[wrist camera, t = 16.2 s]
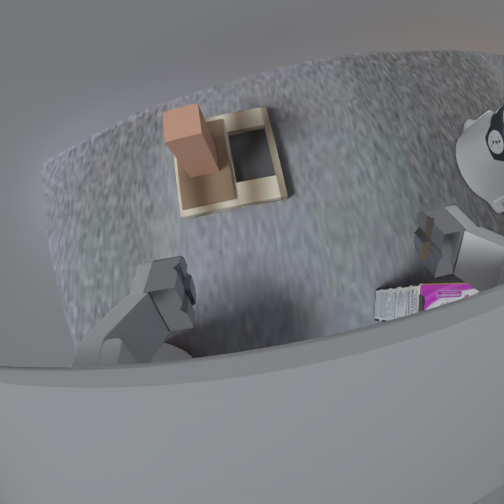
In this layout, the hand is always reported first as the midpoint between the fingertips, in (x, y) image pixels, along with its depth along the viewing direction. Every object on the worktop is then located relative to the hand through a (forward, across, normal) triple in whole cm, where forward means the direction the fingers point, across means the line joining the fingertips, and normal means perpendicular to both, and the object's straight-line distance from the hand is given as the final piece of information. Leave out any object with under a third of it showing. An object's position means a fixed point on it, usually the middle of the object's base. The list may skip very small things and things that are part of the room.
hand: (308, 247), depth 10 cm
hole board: (+39, +5, +11) cm, 41 cm away
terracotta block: (+38, +8, +9) cm, 40 cm away
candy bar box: (+20, -18, +30) cm, 40 cm away
